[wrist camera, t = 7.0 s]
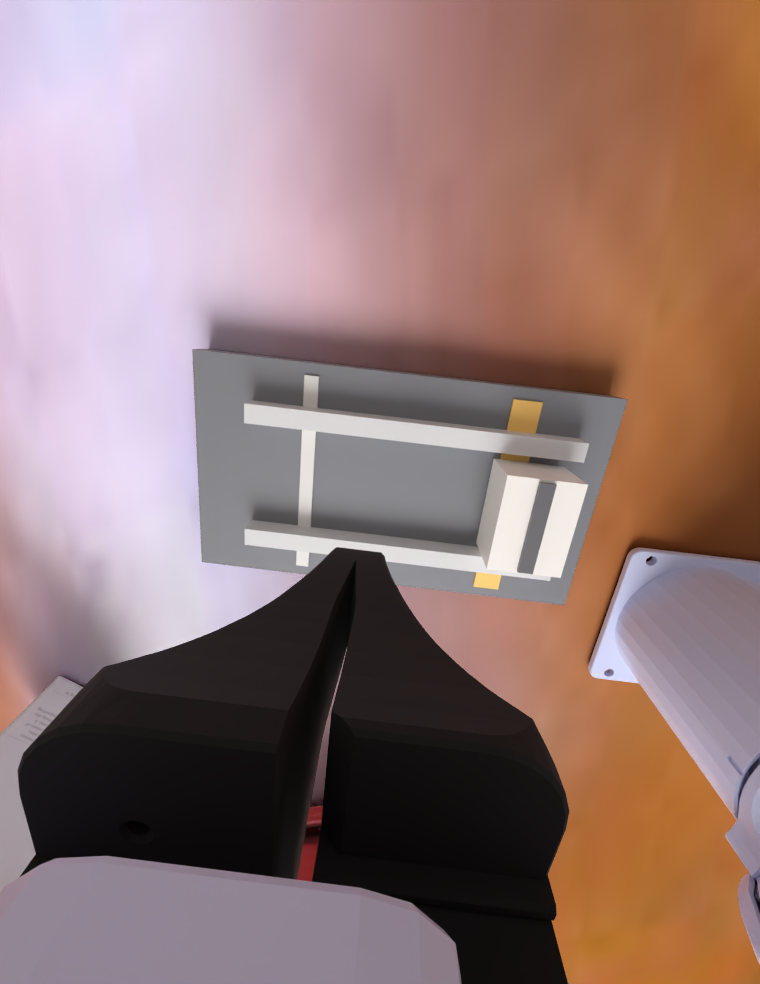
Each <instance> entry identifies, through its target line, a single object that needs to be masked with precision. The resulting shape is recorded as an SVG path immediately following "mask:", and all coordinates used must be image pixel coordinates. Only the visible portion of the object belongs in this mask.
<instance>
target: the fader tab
mask: <svg viewBox="0 0 760 984" xmlns="http://www.w3.org/2000/svg"><path fill="white" fill-rule="evenodd" d="M587 487H588V484H587V483H585V482H584V481H583V480H581V479H580V478H579V477H577V476H576V475H574V474H573V473H572V472H570V471H569V470H568V469H566V468H565V467H562V466H554V465H545V464H536V463H528V462H519V461H511V460H502V459H493V464H492V469H491V474H490V479H489V483H488V488H487V493H486V498H485V502H484V507H483V512H482V517H481V521H480V526H479V531H478V536H477V541H476V543H477V546H478V548H479V551H480V554H481V556H482V559H483V561H484V564H485V566H486V569H489V570H498V571H506V572H515V573H523V574H531V575H540V576H548V577H557V578H561V575H562V571H563V568H564V565H565V561H566V558H567V555H568V551H569V548H570V544H571V541H572V538H573V534H574V531H575V528H576V524H577V521H578V518H579V514H580V511H581V507H582V504H583V501H584V497H585V494H586V491H587Z"/></svg>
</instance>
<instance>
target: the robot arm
mask: <svg viewBox="0 0 760 984" xmlns="http://www.w3.org/2000/svg"><path fill="white" fill-rule="evenodd" d="M651 556H652V559H651V560H650V561H648V562H646V560H647V558H649V557H651ZM346 649H347V651H346ZM345 652H346V656H345ZM344 656H345V660H344V665H343V669H342V673H341V677H340V681H339V685H338V689H337V693H336V697H335V701H334V704H333V708H332V713H331V724H330V734H329V745H328V756H327V767H326V778H325V789H324V800H323V810H322V821H321V829H320V835H319V841H318V847H317V853H316V859H315V866H314V872H313V878H312V882H311V881H303V880H297V877H298V871H299V866H300V860H301V854H302V848H303V843H304V837H305V831H306V826H307V820H308V814H309V809H310V803H311V797H312V792H313V786H314V781H315V775H316V770H317V764H318V759H319V753H320V748H321V742H322V737H323V733H324V729H325V725H326V721H327V717H328V713H329V710H330V706H331V703H332V699H333V695H334V692H335V688H336V685H337V681H338V678H339V674H340V670H341V667H342V663H343V659H344ZM607 669H609V670H608V671H606V670H607ZM588 670H589V672H590V674H591V675H592V676H593V677H595V678H600V679H608V680H616V681H625V682H633V683H639V684H640V685H641V686H642V688H643V689H644V691H645V692H646V693H647V695H648V696H649V698H650V699H651V701H652V702H653V703H654V705H655V706H656V708H657V709H658V710H659V712H660V713H661V715H662V716H663V717H664V719H665V720H666V722H667V723H668V724H669V726H670V727H671V729H672V730H673V731H674V733H675V734H676V736H677V737H678V739H679V740H680V741H681V743H682V744H683V746H684V747H685V748H686V750H687V751H688V753H689V754H690V755H691V757H692V758H693V760H694V761H695V762H696V764H697V765H698V767H699V768H700V770H701V771H702V772H703V774H704V775H705V777H706V778H707V779H708V781H709V782H710V784H711V785H712V786H713V788H714V789H715V791H716V792H717V793H718V795H719V796H720V798H721V799H722V800H723V802H724V803H725V805H726V806H727V808H728V809H729V810H730V812H731V813H732V815H733V816H734V817H735V819H736V822H735V824H734V825H733V827H732V828H731V829H730V830H729V831H728V832H727V833H726V835H725V837H726V838H727V840H728V841H729V843H730V844H731V846H732V847H733V849H734V851H735V852H736V854H737V855H738V857H739V858H740V860H741V861H742V863H743V864H744V866H745V867H746V869H747V870H748V872H749V873H747V874H746V875H745V876H744V877H742V879H741V881H740V883H739V886H738V902H739V907H740V912H741V916H742V919H743V922H744V925H745V928H746V930H747V933H748V936H749V938H750V942H751V944H752V947H753V950H754V952H755V955H756V957H757V960H758V962H759V964H760V562H759V561H751V560H742V559H734V558H725V557H717V556H708V555H700V554H691V553H683V552H674V551H666V550H658V549H649V548H635V549H632V550H631V551H630V552H629V553H628V555H627V558H626V561H625V564H624V566H623V569H622V572H621V575H620V578H619V581H618V583H617V586H616V589H615V592H614V595H613V597H612V600H611V603H610V606H609V609H608V612H607V614H606V617H605V620H604V623H603V626H602V629H601V631H600V634H599V637H598V640H597V643H596V646H595V648H594V651H593V654H592V657H591V660H590V662H589V665H588ZM17 771H18V782H19V793H20V798H21V802H22V805H23V809H24V813H25V816H26V820H27V824H28V827H29V831H30V835H31V838H32V842H33V845H34V849H35V853H36V854H35V856H34V857H33V859H32V860H31V861H30V863H29V864H28V866H27V867H26V868H25V870H24V871H23V873H22V874H21V875H20V877H19V878H18V879H16V880H14V881H13V882H11V883H10V884H8V885H6V886H5V887H4V889H3V890H2V891H1V893H0V984H569V983H568V982H567V978H566V975H565V971H564V967H563V963H562V959H561V956H560V952H559V948H558V944H557V940H556V937H555V933H554V929H553V925H552V921H551V920H554V919H555V917H556V904H555V900H554V897H553V893H552V889H551V886H550V882H549V879H548V872H549V870H550V867H551V865H552V862H553V860H554V857H555V855H556V852H557V850H558V847H559V845H560V842H561V840H562V837H563V835H564V832H565V830H566V825H567V820H568V815H569V808H568V803H567V798H566V793H565V791H564V788H563V785H562V782H561V780H560V777H559V774H558V772H557V769H556V767H555V764H554V762H553V760H552V758H551V755H550V753H549V751H548V749H547V747H546V745H545V743H544V741H543V739H542V737H541V735H540V733H539V731H538V729H537V727H536V725H535V723H534V721H533V719H532V718H530V717H529V716H527V715H526V714H524V713H523V712H521V711H520V710H518V709H517V708H515V707H514V706H512V705H511V704H509V703H508V702H506V701H505V700H503V699H502V698H500V697H499V696H497V695H496V694H494V693H493V692H491V691H490V690H489V689H487V688H486V687H485V686H483V685H482V684H481V683H480V682H478V681H477V680H476V679H475V678H473V677H472V676H471V675H470V674H468V673H467V672H466V671H465V670H464V669H463V668H461V667H460V666H459V665H458V664H457V663H456V662H455V661H454V660H453V659H452V658H451V657H449V656H448V655H447V654H446V653H445V652H444V651H443V650H442V649H441V648H440V647H439V646H438V645H437V644H436V643H435V641H434V640H433V639H432V638H431V637H430V636H429V635H428V633H427V632H426V631H425V630H424V628H423V627H422V626H421V624H420V623H419V622H418V620H417V619H416V618H415V616H414V615H413V613H412V612H411V610H410V609H409V607H408V606H407V604H406V602H405V601H404V599H403V597H402V596H401V594H400V592H399V590H398V588H397V586H396V584H395V582H394V580H393V578H392V576H391V574H390V571H389V569H388V566H387V563H386V560H385V556H384V555H383V554H382V553H381V552H374V551H365V550H357V549H349V548H341V547H336V548H335V549H333V550H332V551H331V552H330V553H329V554H328V555H327V556H326V557H325V558H324V559H323V560H322V561H321V562H320V563H319V564H318V565H317V566H316V567H315V568H314V569H313V570H312V571H310V572H309V573H308V574H307V575H306V576H305V577H303V578H302V579H301V580H300V581H299V582H298V583H296V584H295V585H294V586H292V587H291V588H290V589H288V590H287V591H286V592H284V593H283V594H282V595H280V596H279V597H278V598H276V599H275V600H273V601H272V602H270V603H269V604H267V605H265V606H264V607H262V608H260V609H258V610H257V611H255V612H253V613H251V614H250V615H248V616H246V617H244V618H242V619H239V620H237V621H235V622H233V623H231V624H229V625H227V626H225V627H223V628H221V629H219V630H217V631H214V632H212V633H209V634H207V635H204V636H202V637H199V638H197V639H194V640H192V641H189V642H186V643H183V644H181V645H178V646H175V647H172V648H169V649H166V650H163V651H160V652H156V653H153V654H149V655H146V656H142V657H139V658H135V659H132V660H128V661H125V662H121V663H118V664H114V665H110V666H106V667H103V668H102V669H101V670H100V671H99V672H98V673H97V674H96V675H95V676H94V677H93V678H92V679H91V680H90V681H89V682H88V683H87V684H86V685H85V686H84V687H83V688H82V689H81V690H80V691H79V692H78V693H77V694H76V695H75V697H74V698H73V699H72V700H71V701H70V702H69V703H68V704H67V705H66V707H65V708H64V709H63V710H62V711H61V712H60V713H59V714H58V715H57V716H56V718H55V719H54V720H53V721H52V722H51V723H50V724H49V725H48V726H47V727H46V729H45V730H44V731H43V732H42V733H41V734H40V735H39V736H38V737H37V739H36V740H35V741H34V742H33V743H32V744H31V745H30V746H29V747H28V748H27V749H26V751H25V752H24V753H23V755H22V758H21V761H20V764H19V767H18V770H17Z"/></svg>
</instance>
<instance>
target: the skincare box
mask: <svg viewBox="0 0 760 984" xmlns="http://www.w3.org/2000/svg"><path fill="white" fill-rule="evenodd" d="M82 688H83V687H82V686H80V685H78V684H76V683H74V682H72V681H70V680H68V679H66V678H64V677H62V676H58V677H57V678H56V679H55V680H54V681H53V682H52V683H51V684H50V685H49V686H48V687H47V688H46V689H45V690H44V691H43V692H42V693H41V694H40V695H39V696H38V697H37V698H36V699H35V700H34V701H33V702H32V703H31V704H30V705H29V706H28V707H27V708H26V709H25V710H24V711H23V712H22V713H21V714H20V715H19V716H18V717H17V718H16V719H15V720H14V721H13V722H12V723H11V724H10V725H9V726H8V727H7V728H6V729H5V730H4V731H3V732H2V733H1V734H0V893H1V891H2V890H3V889H4V887H5V886H6V885H8V884H10V883H11V882H13V881H14V880H16V879H18V878H19V877H20V875H21V874H22V873H23V871H24V870H25V868H26V867H27V866H28V864H29V863H30V861H31V860H32V859H33V857H34V856H35V854H36V853H35V849H34V845H33V842H32V838H31V835H30V831H29V827H28V824H27V820H26V816H25V813H24V809H23V805H22V802H21V798H20V793H19V782H18V771H17V770H18V767H19V764H20V761H21V758H22V755H23V753H24V752H25V751H26V749H27V748H28V747H29V746H30V745H31V744H32V743H33V742H34V741H35V740H36V739H37V737H38V736H39V735H40V734H41V733H42V732H43V731H44V730H45V729H46V727H47V726H48V725H49V724H50V723H51V722H52V721H53V720H54V719H55V718H56V716H57V715H58V714H59V713H60V712H61V711H62V710H63V709H64V708H65V707H66V705H67V704H68V703H69V702H70V701H71V700H72V699H73V698H74V697H75V695H76V694H77V693H78V692H79V691H80V690H81V689H82Z"/></svg>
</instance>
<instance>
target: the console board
mask: <svg viewBox="0 0 760 984" xmlns="http://www.w3.org/2000/svg"><path fill="white" fill-rule="evenodd" d="M192 350H193V373H194V395H195V417H196V439H197V462H198V484H199V506H200V529H201V551H202V562H207V563H215V564H223V565H232V566H240V567H249V568H257V569H265V570H274V571H282V572H291V573H299V574H308V573H309V572H310V571H312V570H313V569H314V568H315V567H316V566H317V565H318V564H319V563H320V562H321V561H322V560H323V559H324V558H325V557H326V556H327V555H328V554H329V553H330V552H331V551H332V550H333V549H335V548H336V547H341V548H349V549H357V550H365V551H374V552H381V553H382V554H383V555H384V556H385V560H386V563H387V566H388V569H389V571H390V574H391V576H392V578H393V580H394V582H395V584H396V585H400V586H408V587H417V588H425V589H433V590H442V591H450V592H459V593H467V594H475V595H484V596H492V597H501V598H509V599H517V600H526V601H534V602H543V603H551V604H559V605H564V604H565V601H566V597H567V594H568V591H569V588H570V584H571V581H572V578H573V575H574V571H575V568H576V565H577V562H578V559H579V555H580V552H581V549H582V546H583V542H584V539H585V536H586V533H587V529H588V526H589V523H590V520H591V516H592V513H593V510H594V507H595V503H596V500H597V497H598V494H599V491H600V487H601V484H602V481H603V478H604V474H605V471H606V468H607V465H608V461H609V458H610V455H611V452H612V448H613V445H614V442H615V439H616V436H617V432H618V429H619V426H620V423H621V419H622V416H623V413H624V410H625V406H626V403H627V399H623V398H618V397H614V396H610V395H601V394H593V393H584V392H575V391H567V390H558V389H549V388H541V387H532V386H523V385H515V384H506V383H497V382H489V381H480V380H472V379H463V378H454V377H446V376H437V375H428V374H420V373H411V372H402V371H394V370H385V369H376V368H368V367H359V366H351V365H342V364H333V363H325V362H316V361H307V360H299V359H290V358H281V357H273V356H264V355H255V354H247V353H238V352H230V351H221V350H212V349H192ZM493 459H502V460H511V461H519V462H528V463H536V464H545V465H554V466H562V467H565V468H566V469H568V470H569V471H570V472H572V473H573V474H574V475H576V476H577V477H579V478H580V479H581V480H583V481H584V482H585V483H587V484H588V487H587V491H586V494H585V497H584V501H583V504H582V507H581V511H580V514H579V518H578V521H577V524H576V528H575V531H574V534H573V538H572V541H571V544H570V548H569V551H568V555H567V558H566V561H565V565H564V568H563V571H562V575H561V578H557V577H548V576H540V575H531V574H523V573H515V572H506V571H498V570H489V569H486V566H485V564H484V561H483V559H482V556H481V554H480V551H479V548H478V546H477V543H476V541H477V536H478V531H479V526H480V521H481V517H482V512H483V507H484V502H485V498H486V493H487V488H488V483H489V479H490V474H491V469H492V464H493Z"/></svg>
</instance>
